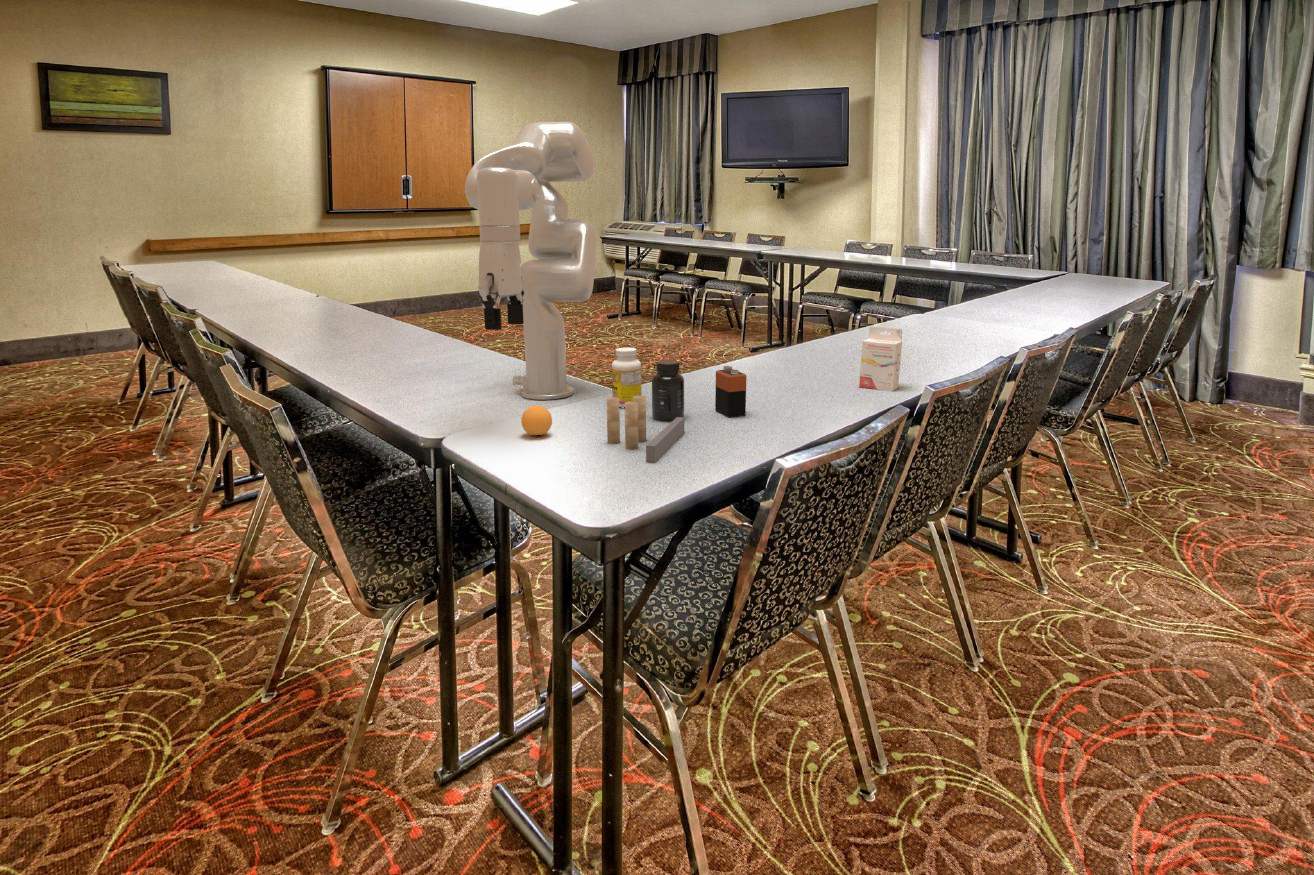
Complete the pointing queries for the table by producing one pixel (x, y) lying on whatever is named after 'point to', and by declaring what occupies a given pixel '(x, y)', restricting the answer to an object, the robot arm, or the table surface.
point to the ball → (536, 420)
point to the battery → (730, 392)
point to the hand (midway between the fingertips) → (504, 326)
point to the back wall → (664, 440)
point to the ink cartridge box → (881, 359)
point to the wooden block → (613, 420)
